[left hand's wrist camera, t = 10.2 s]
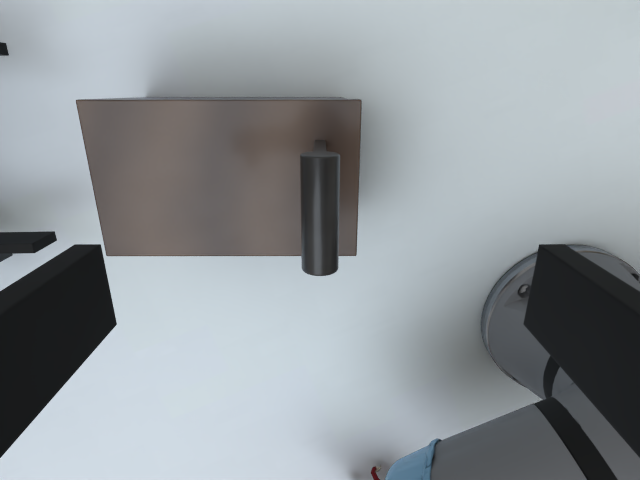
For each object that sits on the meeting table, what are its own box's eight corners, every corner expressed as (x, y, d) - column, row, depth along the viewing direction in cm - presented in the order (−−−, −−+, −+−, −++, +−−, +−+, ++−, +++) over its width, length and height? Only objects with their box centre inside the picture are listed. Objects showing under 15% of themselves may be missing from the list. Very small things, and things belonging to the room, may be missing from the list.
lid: (359, 99, 25) (380, 103, 17) (355, 250, 28) (369, 316, 20) (85, 99, 25) (-33, 103, 17) (113, 250, 28) (28, 316, 20)
